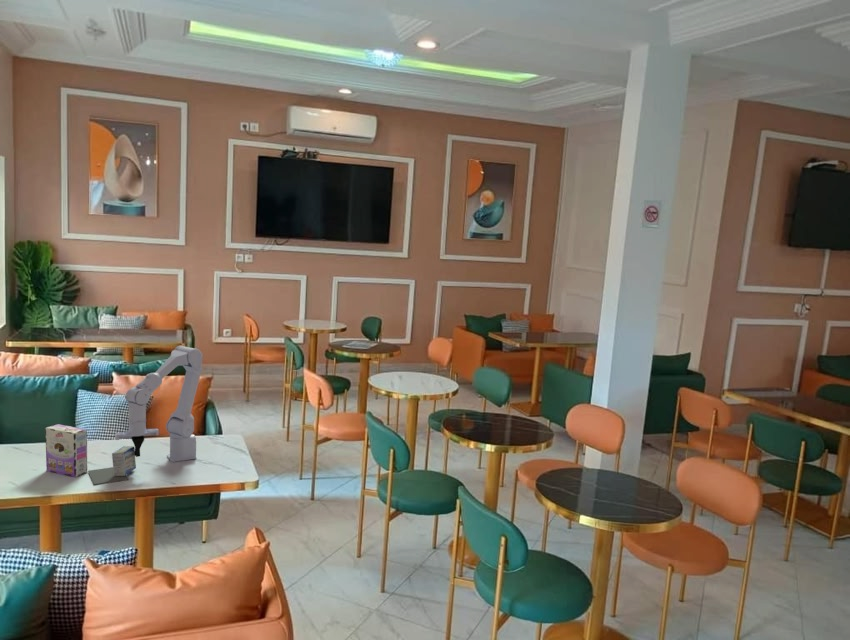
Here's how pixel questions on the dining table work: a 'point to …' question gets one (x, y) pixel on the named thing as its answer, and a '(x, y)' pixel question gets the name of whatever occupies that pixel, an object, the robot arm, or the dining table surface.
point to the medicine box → (124, 461)
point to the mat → (105, 476)
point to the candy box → (66, 450)
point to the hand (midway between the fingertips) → (137, 455)
